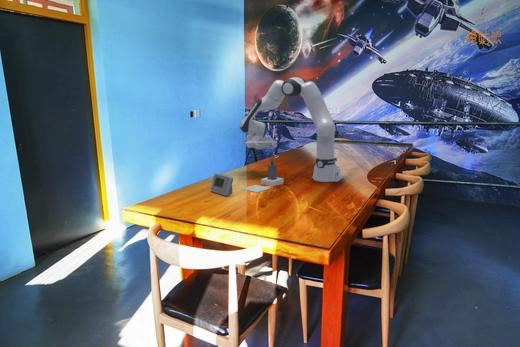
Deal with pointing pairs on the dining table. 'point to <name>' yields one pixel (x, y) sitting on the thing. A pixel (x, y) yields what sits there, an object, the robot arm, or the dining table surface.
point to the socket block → (272, 181)
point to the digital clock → (222, 184)
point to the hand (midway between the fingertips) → (265, 146)
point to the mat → (256, 188)
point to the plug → (272, 171)
